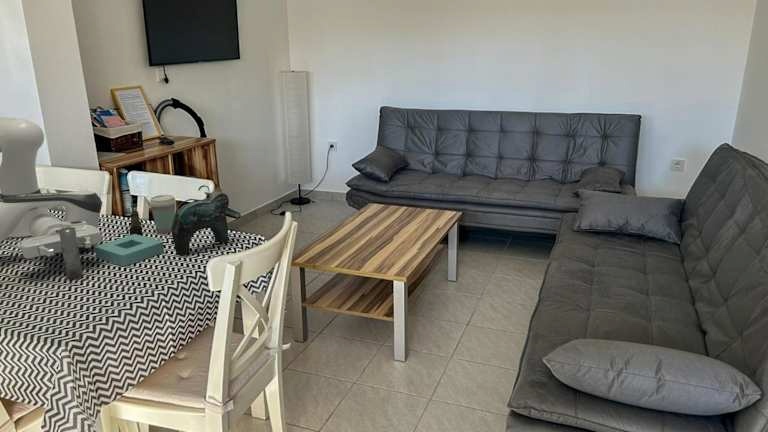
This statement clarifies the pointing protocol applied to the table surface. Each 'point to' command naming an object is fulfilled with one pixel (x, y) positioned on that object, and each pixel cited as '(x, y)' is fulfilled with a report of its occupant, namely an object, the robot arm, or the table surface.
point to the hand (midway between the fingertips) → (69, 249)
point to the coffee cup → (163, 212)
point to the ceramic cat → (200, 219)
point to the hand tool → (135, 224)
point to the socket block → (129, 250)
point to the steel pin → (71, 253)
